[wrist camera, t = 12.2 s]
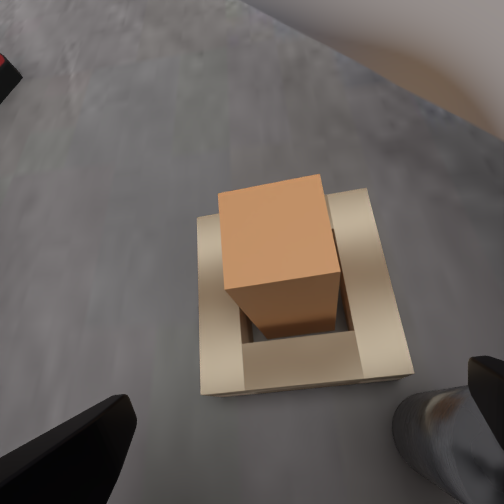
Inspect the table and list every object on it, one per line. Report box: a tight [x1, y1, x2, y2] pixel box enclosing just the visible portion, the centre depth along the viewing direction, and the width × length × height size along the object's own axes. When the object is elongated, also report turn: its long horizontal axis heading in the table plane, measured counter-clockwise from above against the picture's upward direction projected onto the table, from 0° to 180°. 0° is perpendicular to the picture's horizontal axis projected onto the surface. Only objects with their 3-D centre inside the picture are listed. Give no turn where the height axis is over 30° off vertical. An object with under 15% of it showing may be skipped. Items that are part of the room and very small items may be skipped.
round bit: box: [392, 385, 504, 504], centre depth 14 cm, size 4×4×10 cm
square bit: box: [218, 174, 341, 339], centre depth 17 cm, size 4×4×10 cm
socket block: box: [197, 188, 414, 397], centre depth 20 cm, size 10×10×4 cm
